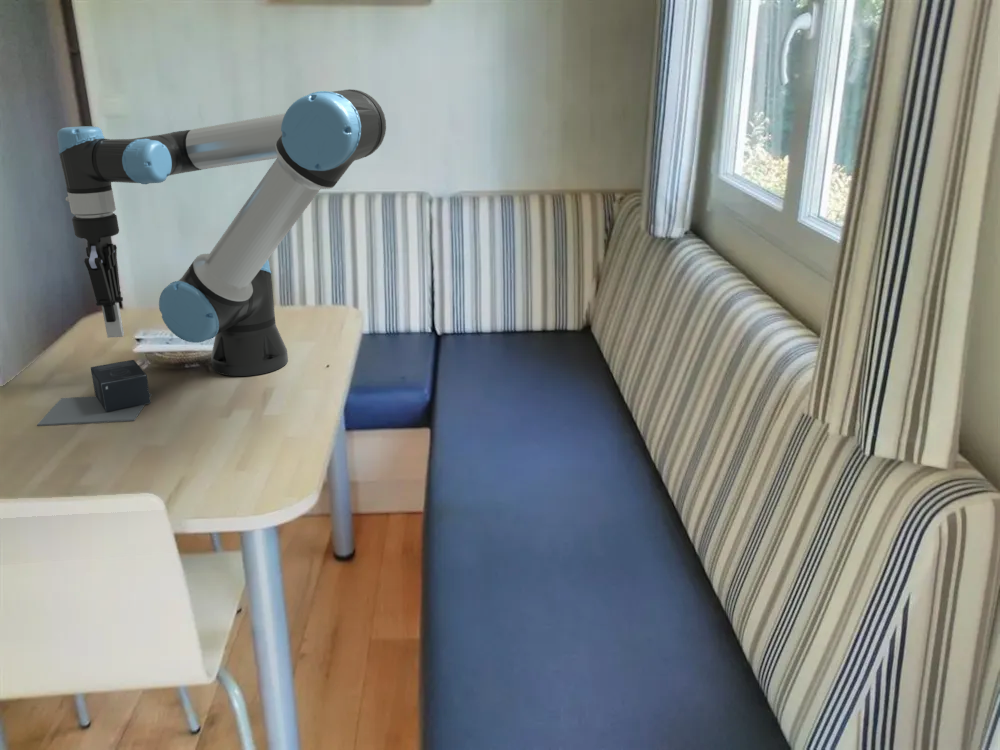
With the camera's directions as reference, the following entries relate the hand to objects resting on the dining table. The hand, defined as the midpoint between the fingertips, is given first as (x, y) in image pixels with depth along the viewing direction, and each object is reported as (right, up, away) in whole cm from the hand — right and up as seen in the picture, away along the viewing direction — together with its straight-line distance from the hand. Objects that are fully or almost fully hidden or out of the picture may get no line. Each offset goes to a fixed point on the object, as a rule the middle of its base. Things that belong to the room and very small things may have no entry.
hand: (115, 335), depth 164 cm
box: (+2, -8, -4) cm, 9 cm away
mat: (+2, -14, -12) cm, 18 cm away
